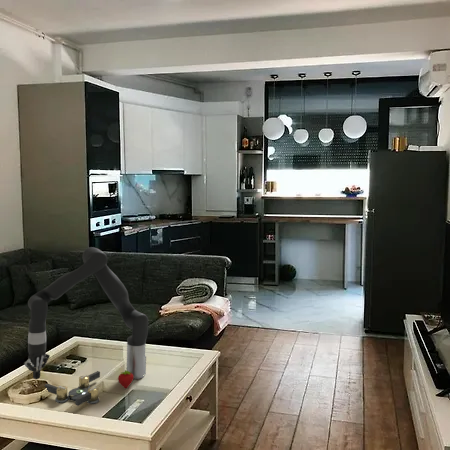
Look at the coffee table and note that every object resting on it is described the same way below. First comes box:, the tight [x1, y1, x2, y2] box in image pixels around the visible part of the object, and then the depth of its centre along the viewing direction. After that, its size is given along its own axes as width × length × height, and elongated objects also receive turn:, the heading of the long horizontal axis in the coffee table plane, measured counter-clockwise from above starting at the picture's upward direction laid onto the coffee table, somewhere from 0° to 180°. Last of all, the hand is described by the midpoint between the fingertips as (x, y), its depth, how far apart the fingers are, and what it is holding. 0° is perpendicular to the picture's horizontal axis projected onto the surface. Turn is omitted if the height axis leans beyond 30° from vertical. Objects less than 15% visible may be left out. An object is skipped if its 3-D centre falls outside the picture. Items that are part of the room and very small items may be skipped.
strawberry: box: [117, 369, 134, 389], centre depth 238 cm, size 6×8×10 cm
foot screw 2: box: [74, 386, 99, 407], centre depth 221 cm, size 12×5×5 cm, turn 152°
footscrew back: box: [78, 370, 101, 388], centre depth 239 cm, size 12×5×5 cm, turn 152°
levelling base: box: [55, 385, 100, 405], centre depth 227 cm, size 20×18×3 cm
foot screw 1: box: [44, 383, 68, 400], centre depth 226 cm, size 12×5×5 cm, turn 62°
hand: (36, 378), depth 221 cm, fingers closed
